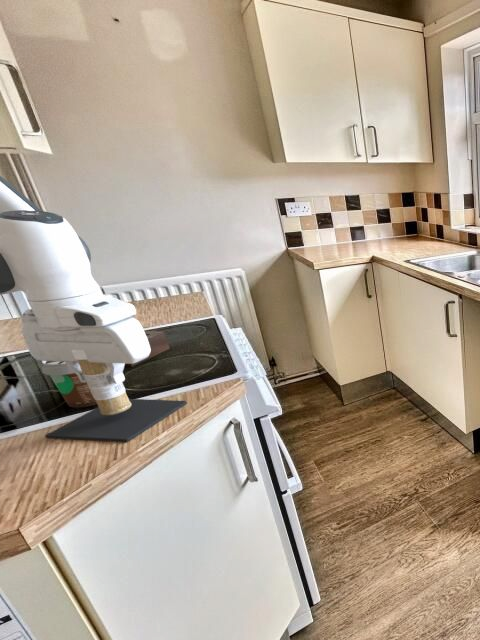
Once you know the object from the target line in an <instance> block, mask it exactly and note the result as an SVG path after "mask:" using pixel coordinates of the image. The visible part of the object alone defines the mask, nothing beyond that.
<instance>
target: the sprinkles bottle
mask: <svg viewBox="0 0 480 640" xmlns="http://www.w3.org/2000/svg"><path fill="white" fill-rule="evenodd" d="M71 351H72V354H73V356H74V358H75V359H77V361H78V363H79V365H80V368H81V370H82V372H83V375H84V378H85V380H86V382H87V384H88V387H89V389H90V391H91V393H92V395H93V397H94V399H95V400H96V402H97V405H96V406H97V408H98V407H99V409H100V413H101V414H102V415H114V414H117V413H121V412H123V411H125V410H127V409H129V408H130V407H131V405H132V404H131V402H130V401H129V399H130V398H129V397H128V395H127V392H126V388H125V385H124V383H123V382H121V383H119V384H113V383H109V382H108V379H107V377H106V375H108V374H110V368H107V366H106V364H105V363H94V362H89V361H88V360H86V359H87V356H86V354H85V352H84V350H77V349H74V350H71Z"/></svg>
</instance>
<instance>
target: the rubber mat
mask: <svg viewBox="0 0 480 640" xmlns="http://www.w3.org/2000/svg"><path fill="white" fill-rule="evenodd" d="M128 399H129V401H130V402H131V404H132V405H131V407H130V408H129V409H127V410H125V411H123V412H121V413H117V414H114V415H102V414H101V413H100V409H99V407H98V406H97V407H96V408H94V409H92V410H90V411H88V412H86V413H84V414H82V415H81V416H79V417H77V418H75V419H73V420H71V421H69V422H68V423H65V424H64V425H62V426H60V427H58V428H56V429H54V430H53V431H51V432H49V433H47V434H45V435H44V437H45V438H46V439H53V440H54V439H55V440H56V439H57V440H76V441H77V440H78V441H97V442H118V443H128V442H130V441H131V440H133V439H135V438H137V437H138V436H139V435H141V434H142V433H145V431H148V430H149V429H150V428H152V427H153V426H156V425H157V424H158V423H159V422H161V421H163V420H164V419H165V418H167V417H168V416H170V415H172V414H173V413H175V412H177V411H178V410H179V409H181V408H183V407H184V406H185V405H187V404H188V402H187V400H171V399H170V400H169V399H168V400H167V399H146V398H145V399H144V398H143V399H142V398H128Z"/></svg>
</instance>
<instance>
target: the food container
mask: <svg viewBox="0 0 480 640" xmlns="http://www.w3.org/2000/svg"><path fill="white" fill-rule="evenodd" d="M40 369H41V373H42V374H44V375H47V376H49V377H50V379H51V380H52V382H53V384H54V385H55V386H56V388H57V390H58V391H59V393H60V395H61V396H62V398H63V400H64V401H65V402H66V404H67V405H68V407H70V408H86V407H87V408H88V407H92V406H98V405H97V402H96V400H95V399H94V397H93V395H92V393H91V391H90V389H89V387H88V384H87V383H84V382H81V381H80V379H79V377H78V375H77V374H75V373H74V372H73V371H72V370H71V369H70V368H68V367H67V365H66V363H65V362H63V361H41V363H40ZM91 402H94V403H91ZM86 403H89V404H86ZM77 404H82V405H77Z"/></svg>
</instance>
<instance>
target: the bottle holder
mask: <svg viewBox="0 0 480 640" xmlns="http://www.w3.org/2000/svg"><path fill="white" fill-rule="evenodd" d="M144 332H145V334H146V337H147V339H148V342H149V345H150V349H151V352H150V354H149V356H148V357H147V358H145V359H143V360H141V361H139V362H136V363H133V364H125V365H124V368H133V367H135V366H137V365H139V364H141V363H143V362H146V361H147V360H149V359H151V358H153V357H156V356H157V355H159V354H163V353H164V352H166V351H168V350H170V349H171V347H170V345H169V342H168V338H167V336H166V334H165V331H163V330H162V331H161V330H144Z"/></svg>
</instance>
